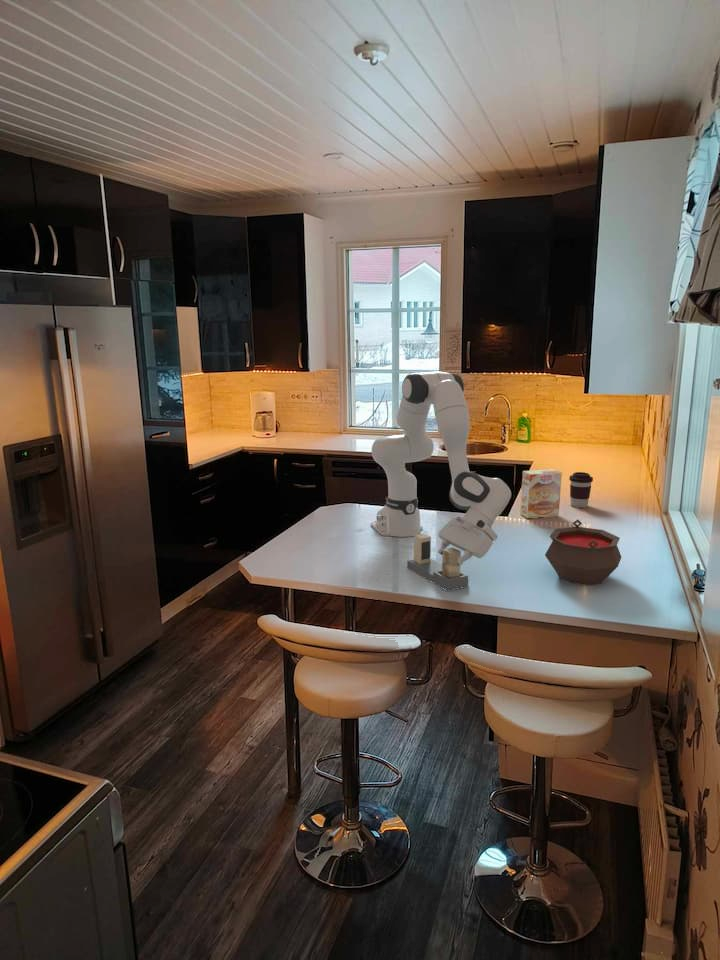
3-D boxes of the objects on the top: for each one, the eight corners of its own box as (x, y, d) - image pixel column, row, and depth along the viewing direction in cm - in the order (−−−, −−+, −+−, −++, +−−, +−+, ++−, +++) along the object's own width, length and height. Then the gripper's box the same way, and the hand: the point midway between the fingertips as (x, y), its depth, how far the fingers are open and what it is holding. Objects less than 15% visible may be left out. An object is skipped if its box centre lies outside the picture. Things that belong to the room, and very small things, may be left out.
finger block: (441, 576, 202) (442, 549, 199) (451, 573, 203) (452, 547, 201) (449, 580, 198) (450, 553, 196) (459, 578, 200) (460, 551, 198)
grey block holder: (407, 567, 216) (407, 535, 213) (426, 563, 219) (427, 531, 217) (447, 591, 196) (448, 556, 193) (468, 586, 200) (469, 551, 197)
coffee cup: (564, 506, 286) (566, 474, 283) (571, 501, 294) (573, 470, 290) (587, 510, 281) (589, 477, 277) (593, 505, 288) (595, 472, 285)
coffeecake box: (527, 519, 268) (530, 474, 264) (519, 514, 275) (521, 470, 270) (559, 516, 272) (562, 472, 267) (550, 512, 278) (553, 468, 274)
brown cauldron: (537, 562, 220) (540, 517, 216) (609, 564, 217) (613, 518, 213) (550, 590, 197) (553, 539, 193) (631, 593, 194) (636, 542, 190)
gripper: (450, 510, 208) (424, 543, 206) (490, 526, 191) (463, 563, 189) (460, 521, 212) (435, 553, 209) (501, 538, 194) (474, 574, 192)
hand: (449, 558), depth 199 cm, fingers open, 8 cm apart
